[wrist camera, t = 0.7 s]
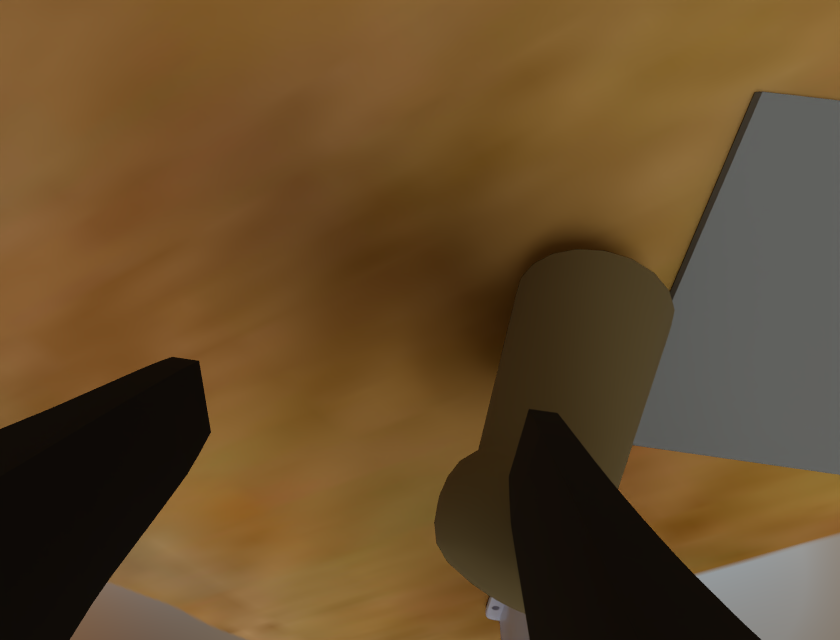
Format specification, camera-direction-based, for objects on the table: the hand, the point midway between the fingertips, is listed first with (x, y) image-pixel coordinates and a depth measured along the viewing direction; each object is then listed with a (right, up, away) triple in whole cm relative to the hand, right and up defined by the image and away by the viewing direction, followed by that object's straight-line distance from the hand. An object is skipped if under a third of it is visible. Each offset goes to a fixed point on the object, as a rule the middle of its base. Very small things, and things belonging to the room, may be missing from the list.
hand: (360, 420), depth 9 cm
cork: (+8, +3, +8) cm, 12 cm away
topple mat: (+19, +2, +9) cm, 21 cm away
